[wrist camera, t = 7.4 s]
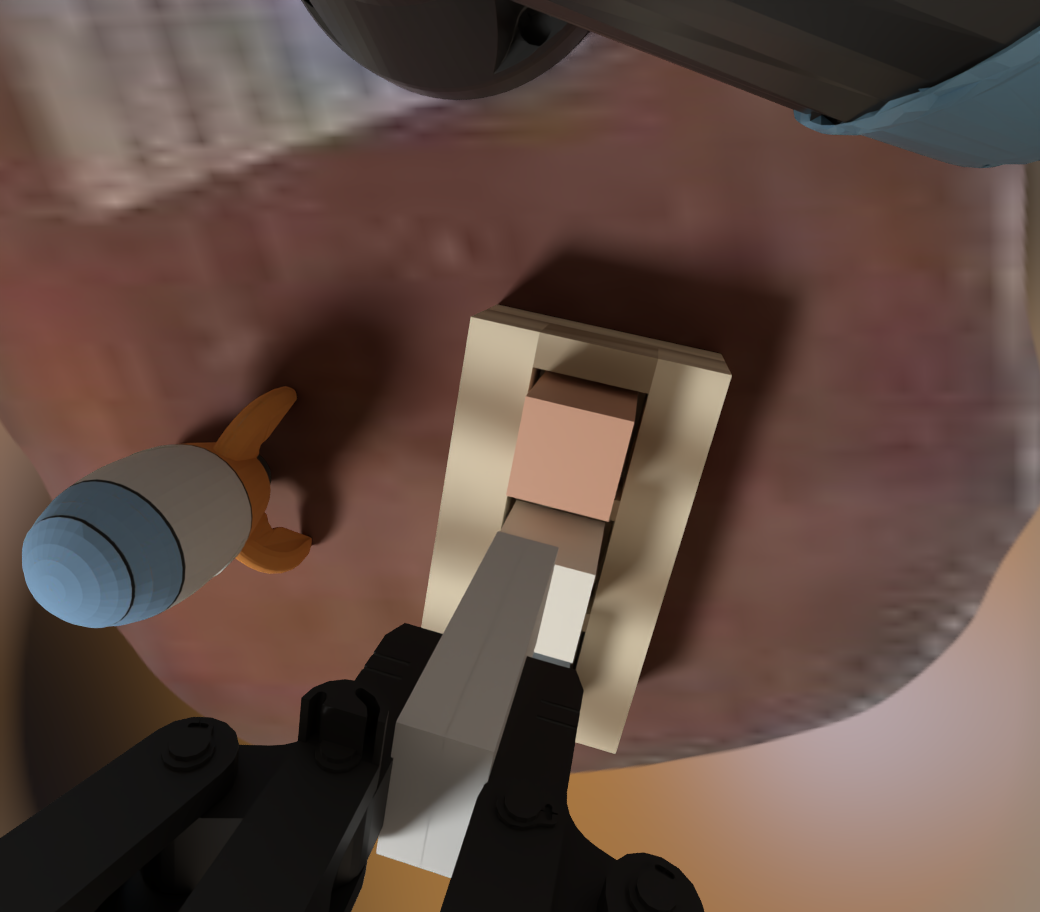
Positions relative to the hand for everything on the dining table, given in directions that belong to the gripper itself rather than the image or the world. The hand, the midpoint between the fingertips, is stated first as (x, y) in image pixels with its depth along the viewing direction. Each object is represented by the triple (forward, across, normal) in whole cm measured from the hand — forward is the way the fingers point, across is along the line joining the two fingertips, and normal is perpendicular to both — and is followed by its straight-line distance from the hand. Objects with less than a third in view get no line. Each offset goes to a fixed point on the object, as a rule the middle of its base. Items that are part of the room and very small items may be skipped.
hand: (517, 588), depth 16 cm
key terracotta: (+15, 0, 0) cm, 15 cm away
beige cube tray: (+19, 0, -6) cm, 20 cm away
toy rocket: (+19, -19, -8) cm, 28 cm away
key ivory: (+14, 0, -6) cm, 15 cm away
